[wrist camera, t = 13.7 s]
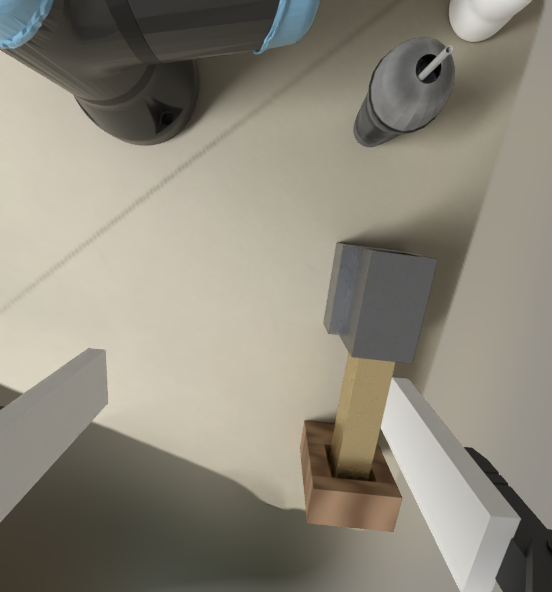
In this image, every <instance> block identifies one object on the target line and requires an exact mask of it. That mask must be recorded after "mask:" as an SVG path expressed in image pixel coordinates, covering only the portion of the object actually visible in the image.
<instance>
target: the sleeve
mask: <svg viewBox="0 0 552 592" xmlns="http://www.w3.org/2000/svg"><path fill="white" fill-rule="evenodd" d="M437 261H438V259H434V258H429V257H425V256H421V254H417V253H412V252H408V251H400V250H392V249H384V248H375V247H367V246H359V245H351V244H342V243H337V244H336V250H335V256H334V262H333V268H332V274H331V280H330V286H329V292H328V299H327V305H326V311H325V317H324V325H325V327H326V330H327V332H328V334H335V335H340V337H341V339H342V341H343V343H344V344H345V346H346V348H347V350H348V352H349V354H350V355H351V357H354V358H363V359H372V360H381V361H390V362H399V363H407V364H412V363H413V358H414V354H415V350H416V346H417V342H418V338H419V334H420V330H421V326H422V322H423V318H424V314H425V309H426V305H427V301H428V297H429V293H430V289H431V285H432V281H433V277H434V273H435V269H436V265H437Z"/></svg>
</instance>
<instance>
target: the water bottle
mask: <svg viewBox="0 0 552 592" xmlns="http://www.w3.org/2000/svg"><path fill="white" fill-rule="evenodd" d="M531 1H532V0H451V1H450V6H449V19H450V23H451V26H452V28H453V30H454V32H455V33H456V34H457V35H458V36H459V37H460V38H462V39H463V40H466V41H470V42H479V41H482V40H485V39H487V38H489V37H491V36H492V35H494V34H495V33H496V32H497V31H499V30H500V29H501V28H502V27H503V26H504V25H505V24H506V23H507V22H508V21H509V20H510V19H511V18H512V17H513V16H514V15H515V14H516V13H518V12H519V11H520V10H522V9H523V8H524V7H526V6H527V5H528V4H529V3H530V2H531Z"/></svg>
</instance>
